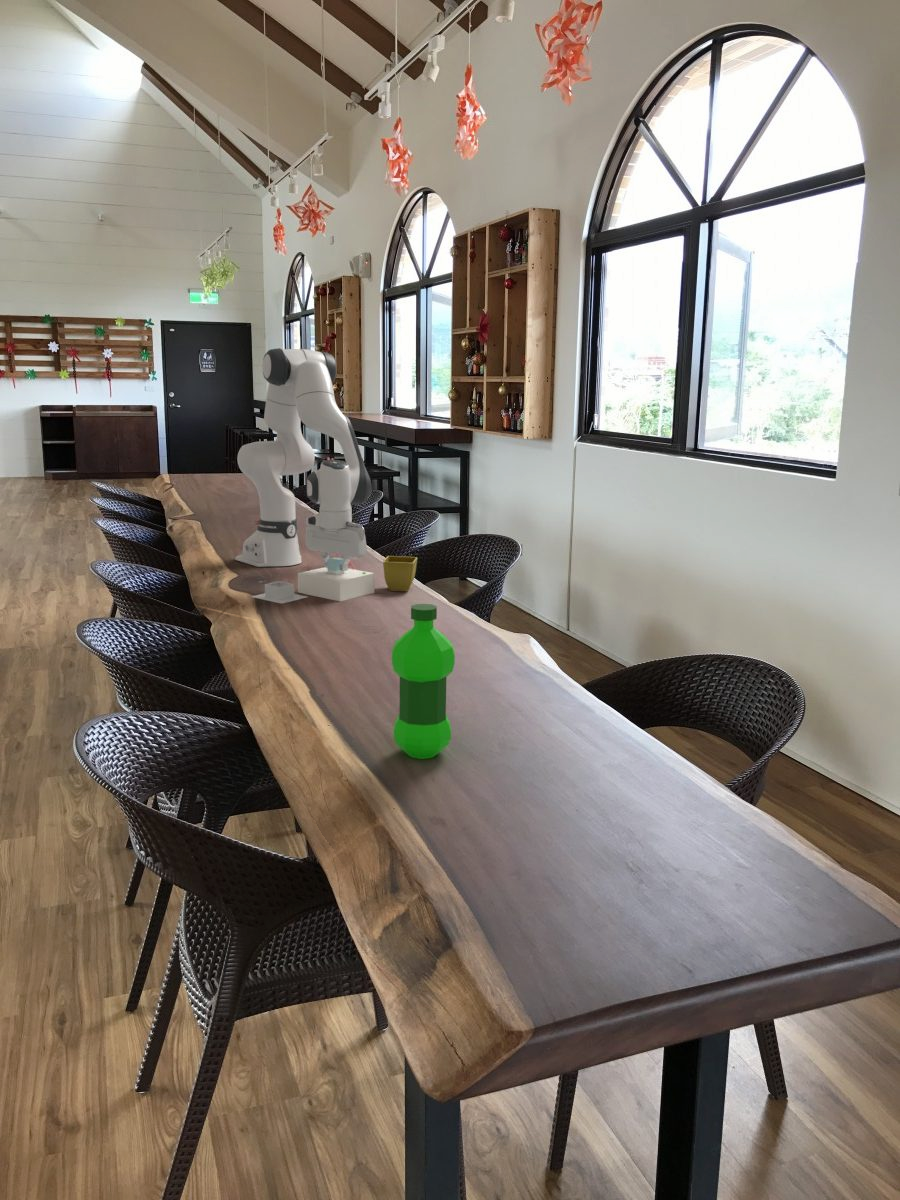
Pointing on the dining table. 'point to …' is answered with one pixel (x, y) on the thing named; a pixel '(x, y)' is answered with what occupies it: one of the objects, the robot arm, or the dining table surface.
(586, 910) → the dining table surface
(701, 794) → the dining table surface
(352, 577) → the port
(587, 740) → the dining table surface
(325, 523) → the robot arm
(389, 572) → the flower pot
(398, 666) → the plastic bottle
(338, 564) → the plug
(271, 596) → the holster
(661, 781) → the dining table surface
